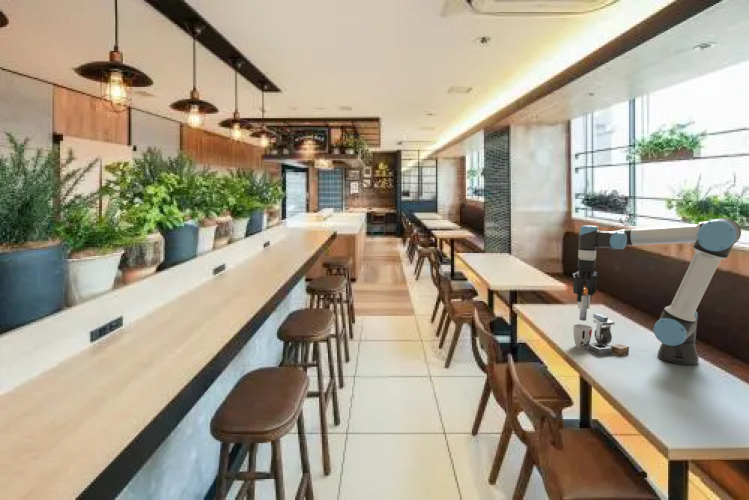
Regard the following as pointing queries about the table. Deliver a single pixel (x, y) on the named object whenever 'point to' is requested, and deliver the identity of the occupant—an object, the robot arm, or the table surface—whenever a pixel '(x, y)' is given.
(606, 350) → the grey square socket base
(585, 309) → the pin
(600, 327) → the caster wheel
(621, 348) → the block
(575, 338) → the cup
